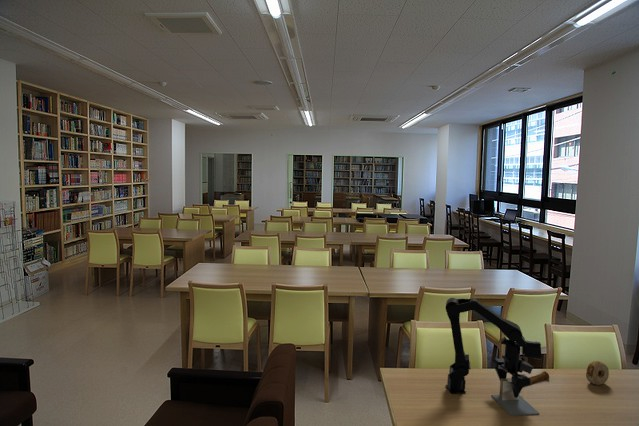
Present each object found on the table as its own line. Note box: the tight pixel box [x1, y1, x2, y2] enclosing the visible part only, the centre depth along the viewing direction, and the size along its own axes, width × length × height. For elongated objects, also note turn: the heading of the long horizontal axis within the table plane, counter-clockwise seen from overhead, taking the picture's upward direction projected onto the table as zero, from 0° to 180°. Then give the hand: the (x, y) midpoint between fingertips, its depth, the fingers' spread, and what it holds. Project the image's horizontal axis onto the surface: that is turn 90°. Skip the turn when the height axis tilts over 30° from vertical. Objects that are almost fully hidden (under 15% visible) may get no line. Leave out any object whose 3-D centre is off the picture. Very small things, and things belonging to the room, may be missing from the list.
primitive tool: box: [523, 370, 550, 388], centre depth 186 cm, size 19×6×4 cm, turn 115°
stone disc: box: [585, 360, 610, 386], centre depth 185 cm, size 10×4×10 cm, turn 104°
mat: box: [490, 394, 541, 417], centre depth 166 cm, size 12×14×1 cm
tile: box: [498, 377, 520, 400], centre depth 170 cm, size 7×2×8 cm, turn 96°
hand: (509, 391), depth 170 cm, fingers open, 9 cm apart
